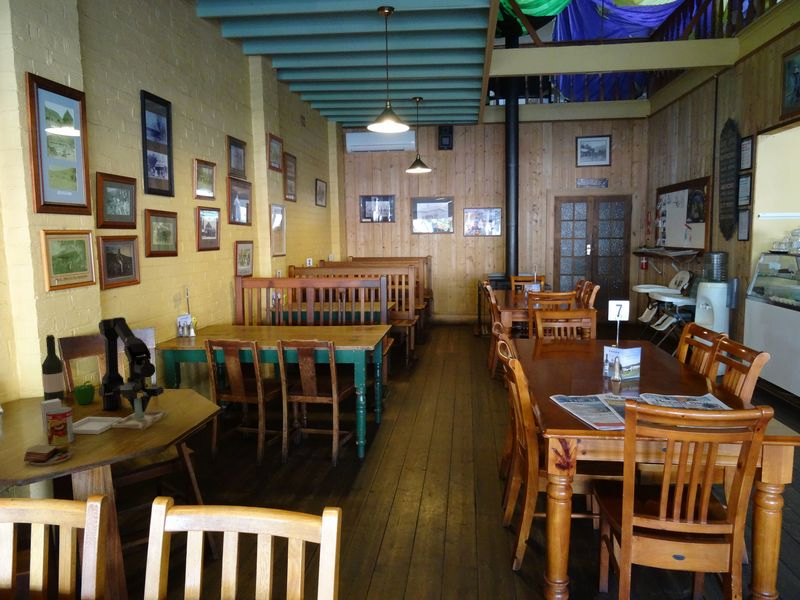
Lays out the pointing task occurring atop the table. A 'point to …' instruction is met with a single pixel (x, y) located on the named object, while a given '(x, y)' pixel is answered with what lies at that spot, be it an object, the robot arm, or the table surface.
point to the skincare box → (47, 406)
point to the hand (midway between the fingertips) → (139, 411)
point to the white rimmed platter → (94, 425)
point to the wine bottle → (52, 373)
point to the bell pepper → (84, 393)
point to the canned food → (59, 426)
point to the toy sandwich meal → (47, 454)
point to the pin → (138, 408)
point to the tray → (139, 420)
